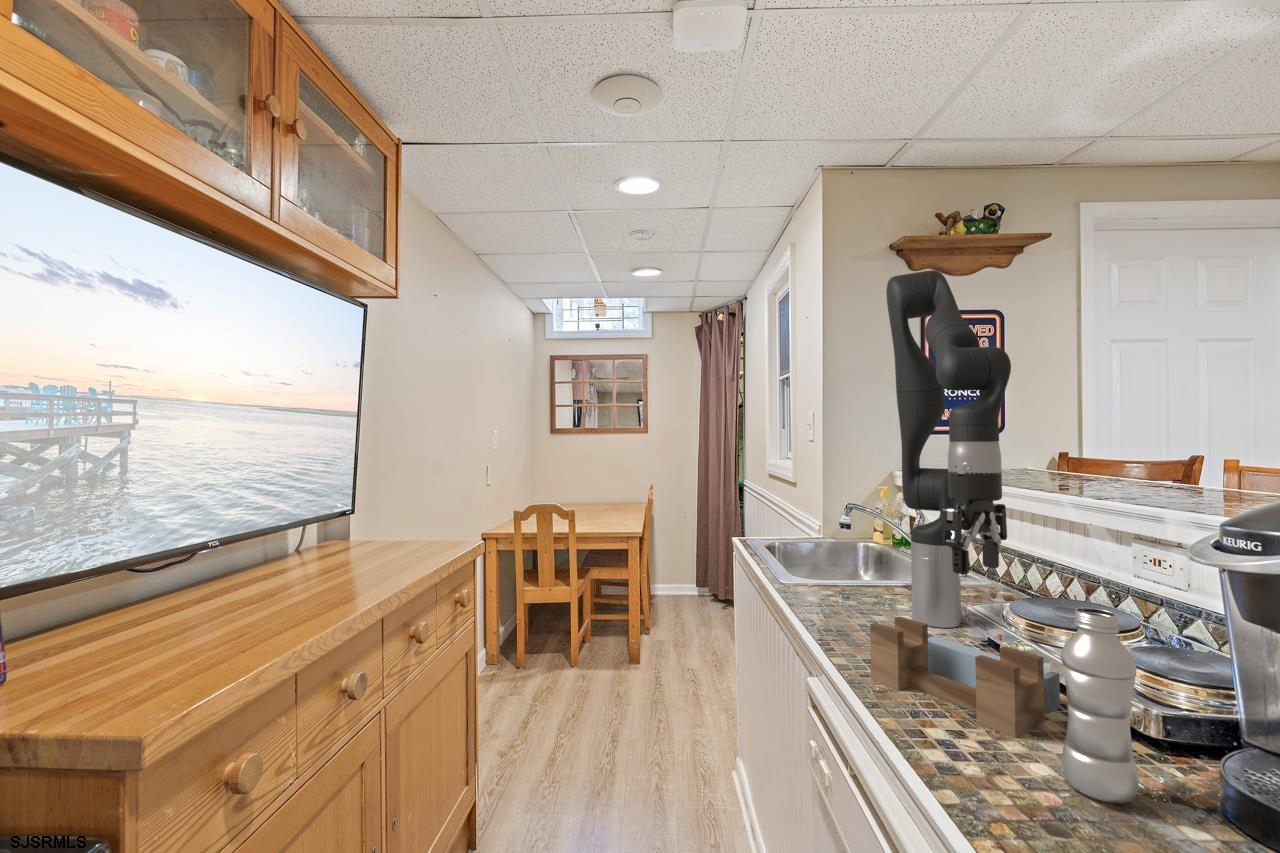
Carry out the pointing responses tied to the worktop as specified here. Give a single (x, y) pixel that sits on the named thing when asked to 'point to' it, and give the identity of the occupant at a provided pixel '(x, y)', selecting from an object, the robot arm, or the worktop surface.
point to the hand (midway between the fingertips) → (976, 570)
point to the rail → (962, 668)
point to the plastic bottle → (1099, 709)
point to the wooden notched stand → (1001, 692)
